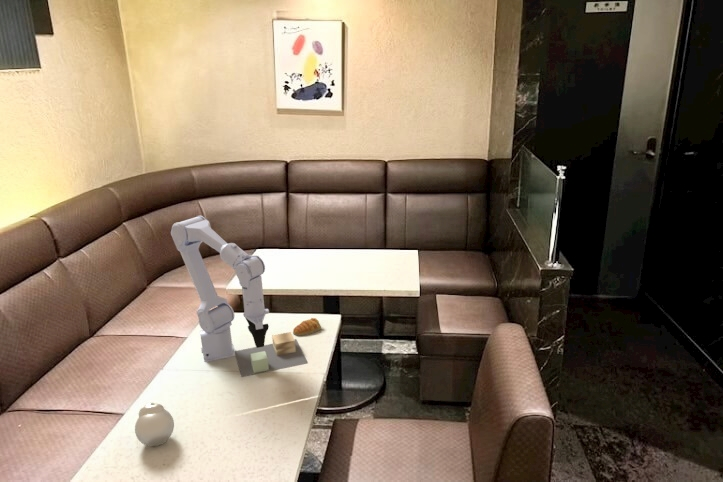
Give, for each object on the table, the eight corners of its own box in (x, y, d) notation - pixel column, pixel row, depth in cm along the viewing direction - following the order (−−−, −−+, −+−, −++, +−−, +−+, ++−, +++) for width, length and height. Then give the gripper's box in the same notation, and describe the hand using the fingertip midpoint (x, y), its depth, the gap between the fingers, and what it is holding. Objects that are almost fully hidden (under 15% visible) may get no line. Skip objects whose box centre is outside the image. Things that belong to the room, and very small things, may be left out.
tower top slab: (276, 349, 167) (275, 344, 166) (272, 341, 172) (272, 335, 172) (295, 346, 169) (294, 340, 168) (291, 337, 174) (290, 332, 173)
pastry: (300, 340, 178) (299, 329, 176) (289, 333, 182) (288, 323, 181) (323, 330, 183) (322, 320, 182) (311, 324, 188) (311, 314, 187)
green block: (253, 373, 158) (252, 361, 157) (251, 365, 162) (250, 353, 161) (268, 369, 160) (267, 358, 159) (266, 362, 164) (265, 350, 162)
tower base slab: (276, 355, 167) (276, 349, 167) (273, 346, 173) (272, 341, 172) (295, 351, 169) (295, 346, 169) (291, 343, 175) (291, 337, 174)
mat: (241, 378, 157) (241, 377, 157) (234, 352, 171) (234, 351, 171) (308, 364, 163) (308, 363, 163) (296, 340, 177) (296, 339, 177)
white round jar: (179, 426, 137) (174, 392, 134) (172, 451, 128) (166, 416, 125) (142, 430, 136) (136, 396, 132) (133, 456, 127) (125, 420, 124)
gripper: (272, 306, 149) (276, 349, 153) (262, 286, 162) (266, 327, 166) (246, 310, 147) (251, 354, 151) (239, 290, 160) (243, 331, 164)
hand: (257, 340), depth 158 cm, fingers open, 7 cm apart
